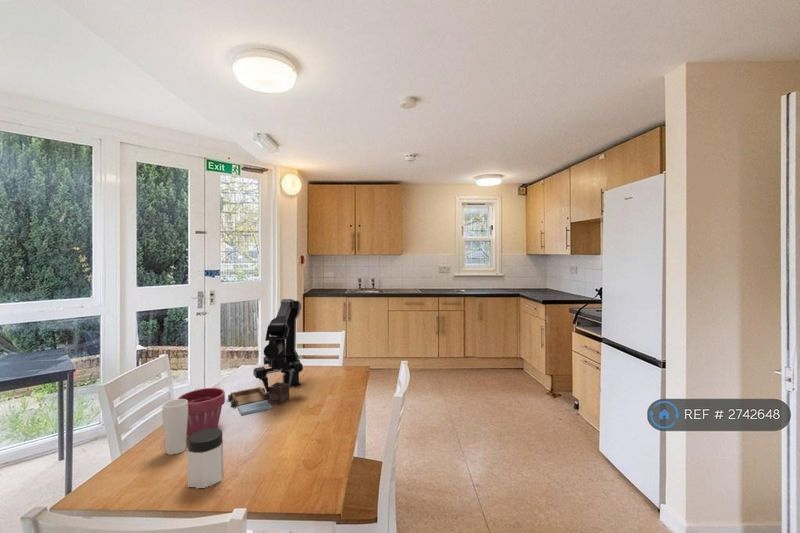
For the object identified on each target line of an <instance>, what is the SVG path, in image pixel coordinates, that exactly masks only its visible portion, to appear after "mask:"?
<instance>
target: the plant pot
mask: <svg viewBox="0 0 800 533" xmlns="http://www.w3.org/2000/svg"><path fill="white" fill-rule="evenodd" d="M225 394H226V393H225V390H224V389H222V388H220V387H209V388H208V387H205V388H199V389H195V390H192V391H191V390H190V391H188V392H186V393H184V394H182V395H180V396H179V397H178V398H177V399H186V400H187V401H188V424H187V437H188V438H189V437H190V436H191V435H192V434H194V433H196V432H198V431H201V430H205V429H218V427H219V423H220V419H221V412H222V407H223V405H224V404H225V402H226V395H225Z"/></svg>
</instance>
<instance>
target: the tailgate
mask: <svg viewBox="0 0 800 533" xmlns="http://www.w3.org/2000/svg"><path fill="white" fill-rule="evenodd" d="M236 409H238V411H239V413H240V415H241V416H245V415H249V414H250V415H251V414H255V413H258V412H262V411H268V410H271V409H273V406H272V405H271V403H269V401H267V400H265V401H260V402H255V403H251V404H246V405H241V406H237V407H236Z"/></svg>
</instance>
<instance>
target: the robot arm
mask: <svg viewBox="0 0 800 533" xmlns="http://www.w3.org/2000/svg"><path fill="white" fill-rule="evenodd" d="M301 309H302V303H301V302H300V301H299V300H294V299H291V298H290V299H289V298H283V299H281V300H280V307H279V309H278V311H277V314H276V316H275V318H273V319H271V320H270V322H269V324H268V325H267V329H266V332H265V333H266V335H265V339H264V340H265V341H267V342H268V344H267V345H265V347H264V348H263V355H264V357H263V365H264V366H260V367H255V368H254V369H253V371H252V372H253V376H254V377H255V379H258V380H260V381H261V382H262V383H263V386H264V389H265V393H268V390H269V389H268V387H269V378H268V376H267V375H268V374H272V373H281V374H283V375H282V383H288V384H289V389H291V388H292V386H293V387H297V386H300V385H301V383H300V373H301V372H302V371H303V370H304V365H303V363H302V362H301V359H300V356H299V354H298V352H297V350H296V344H297V341H296V340H297V335H296V334H297V319H298V317H299V316H300V315H301V314H300V313H301ZM265 365H266V366H268V368H266V367H265Z"/></svg>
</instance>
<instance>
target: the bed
mask: <svg viewBox="0 0 800 533" xmlns="http://www.w3.org/2000/svg"><path fill="white" fill-rule="evenodd" d="M227 400H228V402H230V406H231V407H232V408H233V410H234V409H237V406H241V405H246V404H251V403H255V402H260V401H265V400H266V401H267V402H269V395H268V393H267V392H266V389H265V387H261V386H259V387H254V388H249V389H244V390H237V391H233V392H230V394H228V396H227Z"/></svg>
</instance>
